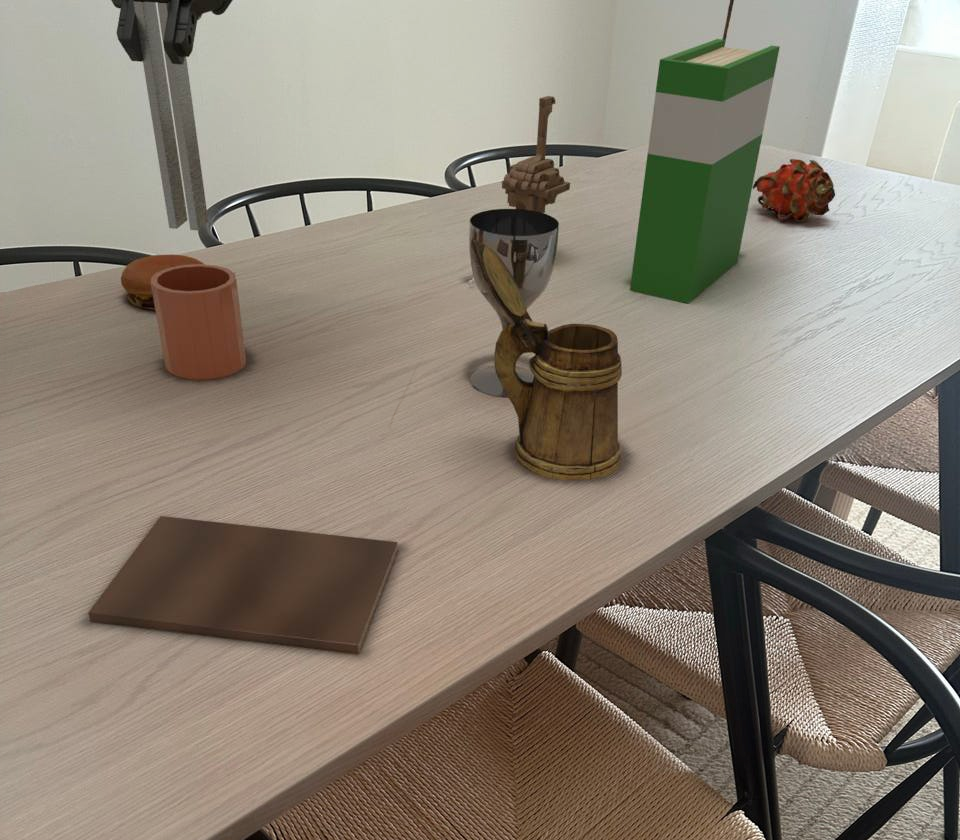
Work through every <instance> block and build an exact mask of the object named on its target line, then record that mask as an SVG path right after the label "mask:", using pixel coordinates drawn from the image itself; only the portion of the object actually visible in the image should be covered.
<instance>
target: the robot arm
mask: <svg viewBox="0 0 960 840" xmlns="http://www.w3.org/2000/svg"><path fill="white" fill-rule="evenodd" d="M110 1H111V3H112V4H113V6H114V7H115V8H116V9H119V16H118V21H117V26H116V37H117V40H118V42H119V43H120V45H121V46H122V48H123V50H124V51H125V53H126V54H127V56H128V57H129V59H130V60H131V62H141V63H143V59H142V53H141V46H140V40H139V34H138V27H137V21H136V15H135V9H134V3H133V2H134V0H110ZM233 1H234V0H170V6H169V12H168V17H167V23H166V29H165V35H164V42H163V41H162V44H163V43H164V46H163V50H164V49H165V52H166V53H167V55H168V57H169V59H170V60H171V62H172V64H181V65H183V63H184V59H185V57H186V58H189V57H190V56H191V54H192V52H193V49H194V43H195V37H196V31H197V26H198V25H197V24H198V21H199V20H201V19H202V16H203V14H207V13H210V12H211V13H212V14H213V15H215V16H221V15H223V14H225V12H226V11H227V10H228V9H229V6H230V5H231V4H232V2H233Z"/></svg>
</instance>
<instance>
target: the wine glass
mask: <svg viewBox="0 0 960 840" xmlns="http://www.w3.org/2000/svg"><path fill="white" fill-rule="evenodd" d="M559 225H560V222H559V221H558V220H557V218H555V217H553V216H552V215H549V214H547V213H541V212H536V211H531V210H523V209H516V208H495V209H487V210H484V211H480V212H477V213H474V215H472V216H471V217H470V219H469V227H468V228H469V229H468V230H469V231H468V240H469V241H468V244H469V245H470V243H471V241H472V239H476V240H478V241H480V242H481V243H483V244H485V245H486V246H488V247H489V248H490V249H492V250H493V251H494V252H495V253H496V254H497V255H498V256H499V257H500V258H501V260H502V261H503V263H504V264H505V265H506V267H507V268H508V270H509V271H510V273H511V275H512V276H513V278H514V280H515V282H516V284H517V285H518V287H519V290H520V292H521V295H522V297H523V299H524V303H525V306H526V310H527V311H528V309H529V308H530V307H531V306H532V305H533V304H534V303H535V302H536V301H537V300H538V299H539V298H540V297H541V296H542V294H543V293H544V292H545V290H546V289H547V287H548V284H549V282H550V281H551V276H552V274H553V270H554V265H555V262H556V257H557V252H558V251H557V250H558V243H559V229H560V226H559ZM468 251H469V258H470V266H471V271H472V277H474V280H475V285H476V287H477V289H478V291H479V292H480V294H481V295H482V297H483V298H484V299H485V300H486V301H487V302H488V304H489V305H490V306H491V308H492V309H493V310H494V311H495V313H496V315H497V317H498V319H499V321H500V324H501V331H502V330H503V329H504V328H505V326H506V325H507V323H508V321H507V320H506V319H505V318H504V317H503V316H502V314H501V313H500V312H499V310H498V309H497V307H496V306H495V304H494V303H493V301H492V299H491V298H490V296H489V295H488V293H487V291H486V290H485V288H484V286H483V285H482V283H481V281H480V278H479V276H478V273H477V270H476V267H475V264H474V261H473V257H472V254H471V250H470V246H469V250H468ZM515 371H516V373H517V375H518V377H519V378H520V379H522V380H523V381H526V382H533V378H534V375H533V373H532V371H531V369H530V368H525V367H521V366H517V365H516V368H515ZM469 382H470V384H471V386H472V387H473V388H474V389H475V390H477V391H479V392H481V393H484V394H487V395H490V396H494V397H502V398H508V396H507V394H506V392H505V391H504V389H503V387H502V385H501V383H500V381H499V378H498V376H497V374H496V369H495V365H489V366H485V367H482V368H480V369H477V370H476V371H474V372H473V373H472V374H471V376H470V377H469Z"/></svg>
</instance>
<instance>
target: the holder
mask: <svg viewBox="0 0 960 840" xmlns="http://www.w3.org/2000/svg"><path fill="white" fill-rule="evenodd" d="M204 264H205V263H204ZM204 264H193V265H181V266H176V267H170V268H167V269H165V270H162V271H160V272H157V273H156V274H155V275H154V276H152V277H151V288H152V293H153V299H154V305H155V310H154V311H155V315H156V321H157V325H158V326H157V327H158V331H159V332H158V333H159V337H160V343H161V349H162V355H163V360H164V366H165V369H166V370H167V371H168V372H169V373H170V374H171V375H173V376H175V377H178V378H181V379H185V380H191V381H209V380H217V379H222V378H227V377H229V376H232V375H235V374H237V373H239V372H240V371H241V370H243V369H244V368H245V366H246V364H247V355H246V348H245V340H244V339H245V338H244V331H243V323H242V316H241V308H240V307H241V306H240V299H239V292H238V282H237V276H236V272H233V270H231V269H229V268H227V267H223V266H219V265H216V264H215V265H214V264H205V265H204Z"/></svg>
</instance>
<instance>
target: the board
mask: <svg viewBox="0 0 960 840" xmlns="http://www.w3.org/2000/svg"><path fill="white" fill-rule="evenodd" d="M397 553H398V541H392V540H391V541H390V540H381V539H374V538H373V539H372V538H365V537H363V538H362V537H355V536H345V535H337V534H327V533H317V532H309V531H300V530H292V529H282V528H274V527H273V528H272V527H265V526H255V525H248V524H247V525H245V524H238V523H228V522H219V521H211V520H200V519H191V518H183V517H174V516H164V515H160V516H159V517H158V518H157V520H156V521H155V523H154V524H153V525H152V527H151V528H150V530H148V532H147V534H145V536H144V538H143V539H142V540H141V541H140V543H139V544H138V546H137V547H136V548H135V549H134V551H133V552H132V553H131V554H130V556H129V558H128V559H127V560H126V561H125V563H124V564H123V565H122V567H121V568H120V569H119V571H118V572H117V573H116V575H115V576H114V578H113V579H112V580H111V581H110V583H109V584H108V585H107V587H106V588H105V590H103V592H102V593H101V594H100V596H99V597H98V599H97V600H95V601H96V602H95V603H94V604H93V605H92V606H91V608H90V609H89V611H88V612H87V614H88V617H89V618H88V619H89V621H90V622H93V623H100V624H101V623H102V624H108V625H118V626H126V627H134V628H141V629H150V630H158V631H166V632H175V633H182V634H191V635H200V636H208V637H215V638H222V639H223V638H224V639H233V640H240V641H249V642H258V643H264V644H265V643H266V644H274V645H281V646H282V645H283V646H289V647H297V648H298V647H299V648H306V649H315V650H322V651H331V652H339V653H347V654H355V655H356V654H357V655H358V654H359V653H360V652H361V648H362V645H363V643H364V641H365V638H366V635H367V633H368V630H369V627H370V625H371V622H372V619H373V616H374V614H375V611H376V609H377V606H378V603H379V600H380V598H381V595H382V593H383V591H384V587H385V585H386V582H387V580H388V577H389V574H390V572H391V569H392V566H393V563H394V561H395V559H396V556H397Z"/></svg>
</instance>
